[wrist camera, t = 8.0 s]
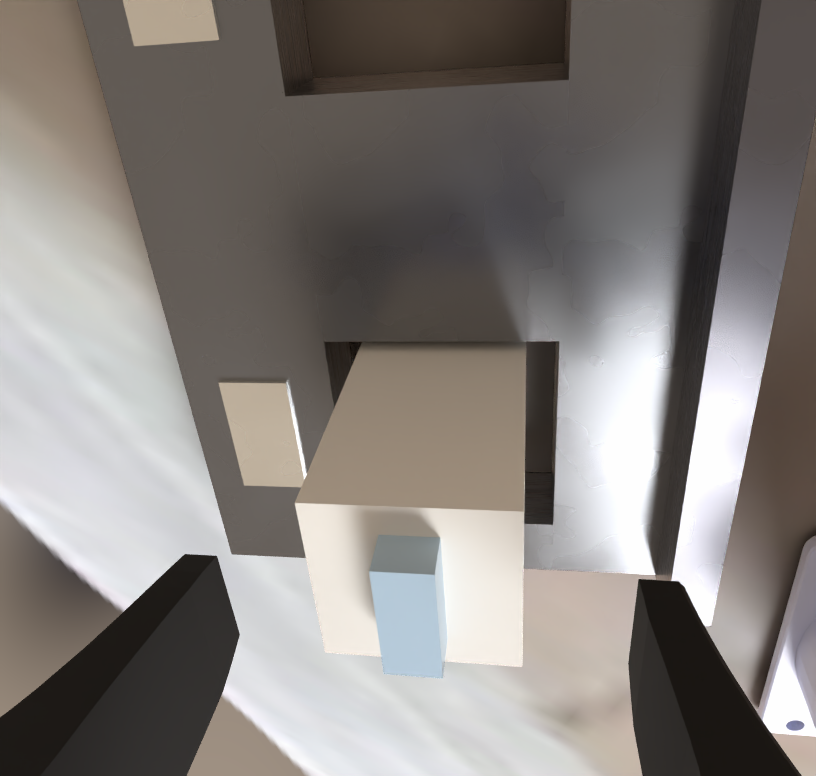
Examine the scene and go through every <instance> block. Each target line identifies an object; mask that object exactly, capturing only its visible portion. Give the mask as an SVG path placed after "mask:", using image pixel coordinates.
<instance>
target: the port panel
mask: <svg viewBox="0 0 816 776" xmlns="http://www.w3.org/2000/svg"><path fill="white" fill-rule="evenodd" d="M77 2H78V5H79V9H80V12H81V16H82V19H83V23H84V27H85V30H86V34H87V37H88V41H89V45H90V48H91V52H92V55H93V59H94V62H95V66H96V70H97V73H98V77H99V80H100V84H101V88H102V91H103V95H104V98H105V102H106V105H107V109H108V113H109V116H110V120H111V123H112V127H113V130H114V134H115V138H116V141H117V145H118V148H119V152H120V156H121V159H122V163H123V166H124V170H125V173H126V177H127V181H128V184H129V188H130V191H131V195H132V199H133V202H134V206H135V209H136V213H137V216H138V220H139V224H140V227H141V231H142V234H143V238H144V241H145V245H146V249H147V252H148V256H149V259H150V263H151V267H152V270H153V274H154V277H155V281H156V284H157V288H158V292H159V295H160V299H161V302H162V306H163V310H164V313H165V317H166V320H167V324H168V327H169V331H170V335H171V338H172V342H173V345H174V349H175V353H176V356H177V360H178V363H179V367H180V370H181V374H182V378H183V381H184V385H185V388H186V392H187V395H188V399H189V403H190V406H191V410H192V413H193V417H194V421H195V424H196V428H197V431H198V435H199V438H200V442H201V446H202V449H203V453H204V456H205V460H206V464H207V467H208V471H209V474H210V478H211V481H212V485H213V489H214V492H215V496H216V499H217V503H218V506H219V510H220V514H221V517H222V521H223V524H224V528H225V532H226V535H227V539H228V542H229V546H230V549H231V553H232V554H237V555H258V556H278V557H299V558H306V556H305V551H304V546H303V541H302V536H301V531H300V526H299V521H298V517H297V512H296V507H295V501H296V499H297V496H298V494H299V491H300V489H301V487H302V484H303V482H304V479H305V477H306V475H307V472H308V470H309V468H310V465H311V463H312V460H313V458H314V456H315V453H316V451H317V448H318V446H319V444H320V441H321V439H322V436H323V434H324V432H325V429H326V427H327V424H328V422H329V420H330V417H331V415H332V413H333V410H334V408H335V405H336V403H337V401H338V398H339V396H340V393H341V391H342V389H343V386H344V384H345V381H346V379H347V377H348V374H349V372H350V369H351V367H352V359H351V352H350V344H349V342H454V341H556V342H555V374H554V406H553V438H552V470H551V473H527V472H525V503H524V569H545V570H565V571H586V572H606V573H627V574H647V575H655V576H656V580H663V581H679V582H680V583H681V584H682V585H683V586H684V587H685V589H686V591H687V593H688V595H689V597H690V599H691V601H692V603H693V605H694V607H695V609H696V611H697V613H698V615H699V617H700V619H701V621H702V623H703V624H704V626H711V623H712V618H713V613H714V609H715V604H716V599H717V594H718V589H719V584H720V579H721V574H722V569H723V565H724V560H725V555H726V550H727V545H728V540H729V535H730V530H731V525H732V521H733V516H734V511H735V506H736V501H737V496H738V491H739V486H740V482H741V477H742V472H743V467H744V462H745V457H746V452H747V447H748V442H749V438H750V433H751V428H752V423H753V418H754V413H755V408H756V403H757V398H758V394H759V389H760V384H761V379H762V374H763V369H764V364H765V359H766V355H767V350H768V345H769V340H770V335H771V330H772V325H773V320H774V315H775V311H776V306H777V301H778V296H779V291H780V286H781V281H782V276H783V271H784V267H785V262H786V257H787V252H788V247H789V242H790V237H791V232H792V228H793V223H794V218H795V213H796V208H797V203H798V198H799V193H800V188H801V184H802V179H803V174H804V169H805V164H806V159H807V154H808V149H809V144H810V140H811V135H812V130H813V125H814V120H815V115H816V0H566V24H565V56H564V62H562V63H546V64H531V65H515V66H499V67H483V68H467V69H451V70H435V71H419V72H404V73H388V74H372V75H356V76H340V77H324V78H313V72H312V65H311V57H310V50H309V43H308V35H307V28H306V21H305V13H304V6H303V0H77Z"/></svg>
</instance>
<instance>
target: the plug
mask: <svg viewBox="0 0 816 776" xmlns="http://www.w3.org/2000/svg"><path fill="white" fill-rule="evenodd" d="M525 424H526V341H454V342H362V343H361V346H360V348H359V350H358V353H357V355H356V358H355V360H354V362H353V365H352V367H351V369H350V372H349V374H348V377H347V379H346V381H345V384H344V386H343V389H342V391H341V393H340V396H339V398H338V401H337V403H336V405H335V408H334V410H333V413H332V415H331V417H330V420H329V422H328V424H327V427H326V429H325V432H324V434H323V436H322V439H321V441H320V444H319V446H318V448H317V451H316V453H315V456H314V458H313V460H312V463H311V465H310V468H309V470H308V472H307V475H306V477H305V479H304V482H303V484H302V487H301V489H300V491H299V494H298V496H297V499H296V501H295V507H296V512H297V517H298V521H299V526H300V531H301V536H302V541H303V546H304V551H305V556H306V561H307V566H308V571H309V575H310V580H311V585H312V590H313V595H314V600H315V605H316V610H317V615H318V620H319V624H320V629H321V634H322V639H323V644H324V649H325V653H338V654H351V655H365V656H379V657H381V658H382V665H383V672H384V674H391V675H404V676H417V677H430V678H443V673H444V665H445V661H448V662H461V663H475V664H489V665H503V666H516V667H522V656H523V580H524V503H525Z"/></svg>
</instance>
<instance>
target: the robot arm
mask: <svg viewBox="0 0 816 776" xmlns="http://www.w3.org/2000/svg"><path fill="white" fill-rule="evenodd" d="M239 635H240V634H239V630H238V627H237V624H236V620H235V617H234V613H233V610H232V606H231V603H230V600H229V596H228V593H227V589H226V586H225V582H224V579H223V575H222V572H221V569H220V565H219V562H218V558H217V556H208V555H190V554H185V555H184V556H182V557H181V558H180V559H179V560H178V561H177V562H176V563H175V564H174V565H173V566H172V567H171V568H169V569H168V570H167V571H166V572H165V573H164V574H163V575H162V576H161V577H160V578H159V579H158V580H157V581H156V582H155V583H154V584H153V585H152V586H150V587H149V588H148V589H147V590H146V591H145V592H144V593H143V594H142V595H141V596H140V597H139V598H138V599H137V600H136V601H135V602H134V603H133V604H132V605H130V606H129V607H128V608H127V609H126V610H125V611H124V612H123V613H122V614H121V615H120V616H119V617H118V618H117V619H116V620H114V621H113V622H112V623H111V624H110V625H109V626H108V627H107V628H106V629H105V630H104V631H102V633H100V634H99V635H98V636H97V637H96V638H95V639H94V640H93V641H92V642H91V643H90V644H88V645H87V646H86V647H85V648H84V649H83V650H82V651H80V652H79V653H78V654H77V655H76V656H75V657H73V658H72V659H71V660H70V661H69V662H68V663H66V664H65V665H64V666H63V667H62V668H61V669H59V670H58V671H57V672H56V673H55V674H54V675H52V676H51V677H50V678H49V679H48V680H47V681H45V682H44V683H43V684H42V685H41V686H39V687H38V688H37V689H36V690H35V691H34V692H32V693H31V694H30V695H29V696H27V697H26V698H25V699H23V700H22V701H21V702H20V703H18V704H17V705H16V706H15V707H14V708H12V709H11V710H9V711H8V712H7V713H6V714H4V715H3V716H2V717H0V776H187V773H188V771H189V769H190V767H191V764H192V762H193V760H194V757H195V755H196V753H197V750H198V748H199V746H200V744H201V741H202V739H203V737H204V735H205V732H206V730H207V727H208V725H209V723H210V721H211V718H212V716H213V713H214V711H215V709H216V707H217V704H218V702H219V699H220V697H221V695H222V692H223V690H224V686H225V683H226V680H227V677H228V674H229V670H230V667H231V664H232V660H233V657H234V653H235V650H236V646H237V642H238V639H239ZM628 664H629V677H630V690H631V702H632V714H633V725H634V731H635V737H636V743H637V748H638V753H639V759H640V764H641V769H642V775H643V776H801V774H800V773H799V772H798V770H797V769H796V767H795V766H794V765H793V763H792V762H791V761H790V759H789V758H788V756H787V755H786V754H785V752H784V751H783V749H782V748H781V747H780V745H779V744H778V742H777V741H776V740H775V738H774V737H773V735H772V734H771V732H772V733H780V734H792V735H804V736H816V536H813V537H812V538H810V539H809V540H808V541H807V542H806V543H805V545H804V547H803V551H802V554H801V558H800V561H799V565H798V568H797V572H796V576H795V579H794V583H793V586H792V590H791V594H790V597H789V601H788V604H787V608H786V611H785V615H784V619H783V622H782V626H781V629H780V633H779V637H778V640H777V644H776V647H775V651H774V654H773V658H772V662H771V665H770V669H769V672H768V676H767V680H766V683H765V687H764V690H763V694H762V697H761V701H760V705H759V708H758V712H756V710H755V709H754V707H753V706H752V704H751V702H750V701H749V699H748V698H747V696H746V695H745V693H744V692H743V690H742V688H741V687H740V685H739V684H738V682H737V681H736V679H735V678H734V676H733V674H732V673H731V671H730V669H729V668H728V666H727V665H726V663H725V661H724V660H723V658H722V656H721V654H720V653H719V651H718V649H717V648H716V646H715V644H714V642H713V641H712V639H711V637H710V635H709V634H708V632H707V630H706V628H705V626H704V624H703V623H702V621H701V619H700V617H699V615H698V613H697V611H696V609H695V607H694V605H693V603H692V601H691V599H690V597H689V595H688V593H687V591H686V589H685V587H684V586H683V585H682V584H681V583H680V582H679V581H663V580H645V579H639V580H638V589H637V597H636V605H635V613H634V622H633V630H632V638H631V646H630V655H629V663H628Z"/></svg>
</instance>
